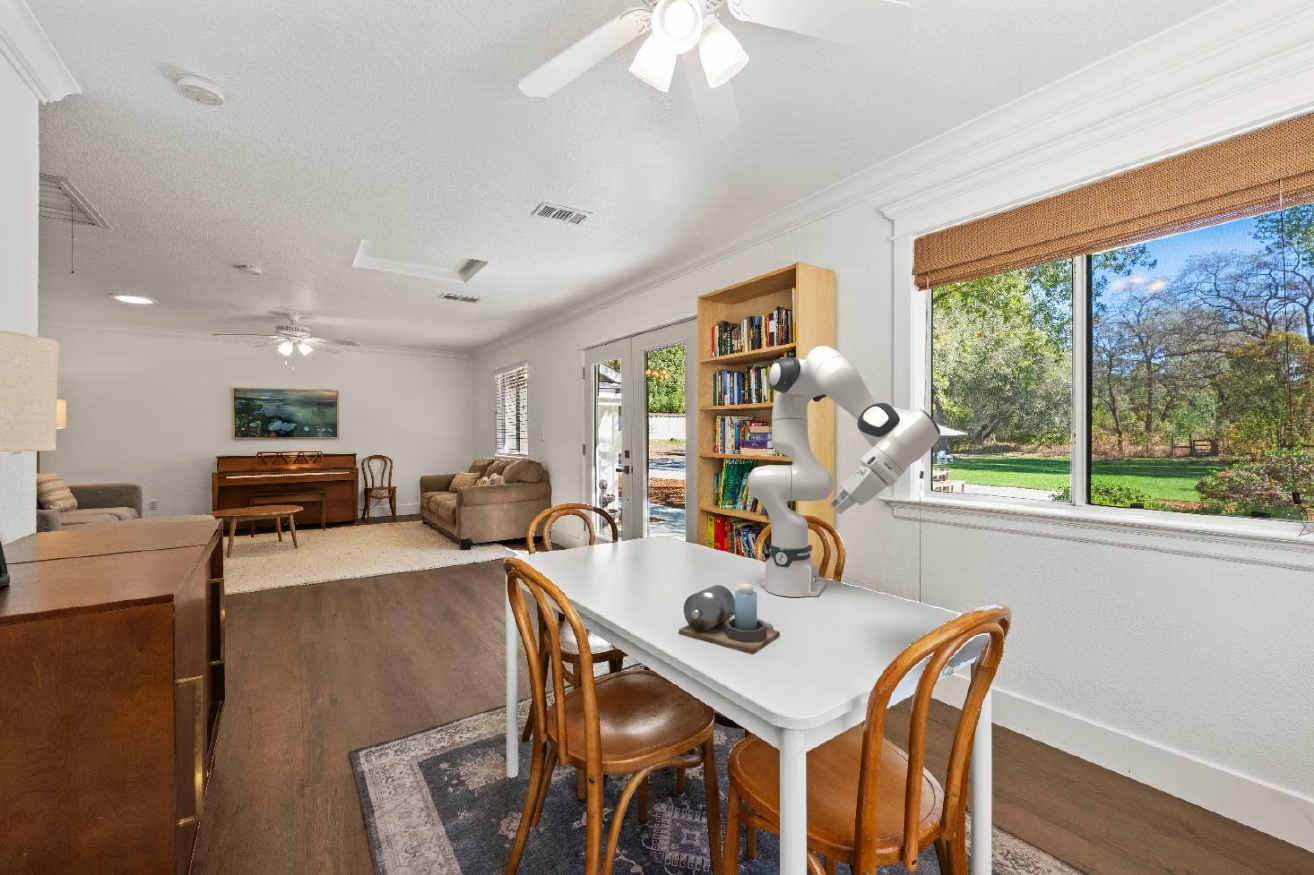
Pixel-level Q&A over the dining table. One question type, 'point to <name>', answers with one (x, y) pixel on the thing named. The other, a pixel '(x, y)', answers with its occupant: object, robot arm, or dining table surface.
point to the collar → (745, 632)
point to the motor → (709, 608)
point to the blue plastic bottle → (746, 607)
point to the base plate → (721, 638)
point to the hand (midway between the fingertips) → (834, 508)
